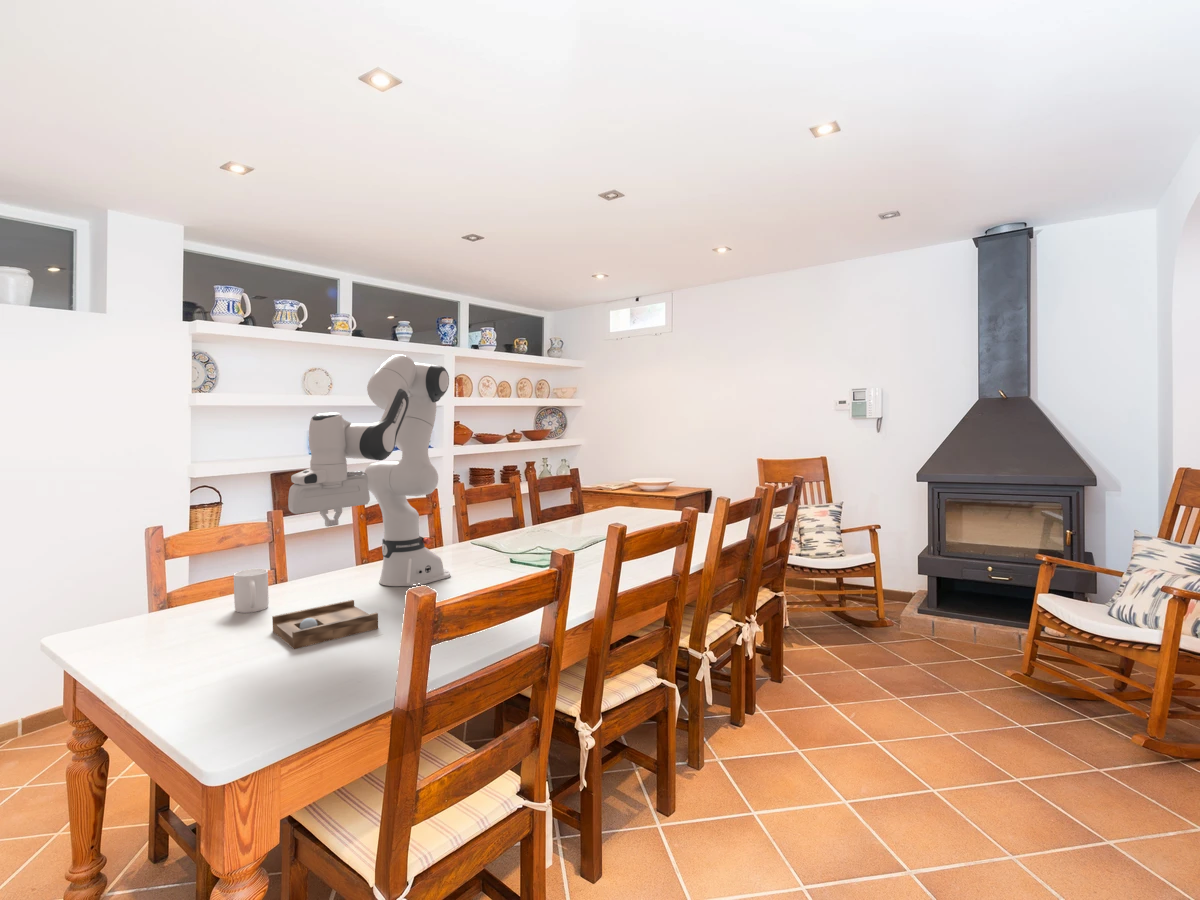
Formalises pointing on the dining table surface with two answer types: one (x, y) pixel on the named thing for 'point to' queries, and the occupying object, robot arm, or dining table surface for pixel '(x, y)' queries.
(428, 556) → the robot arm
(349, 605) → the wooden tray
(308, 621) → the ball
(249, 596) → the mug
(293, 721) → the dining table surface
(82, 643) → the dining table surface
